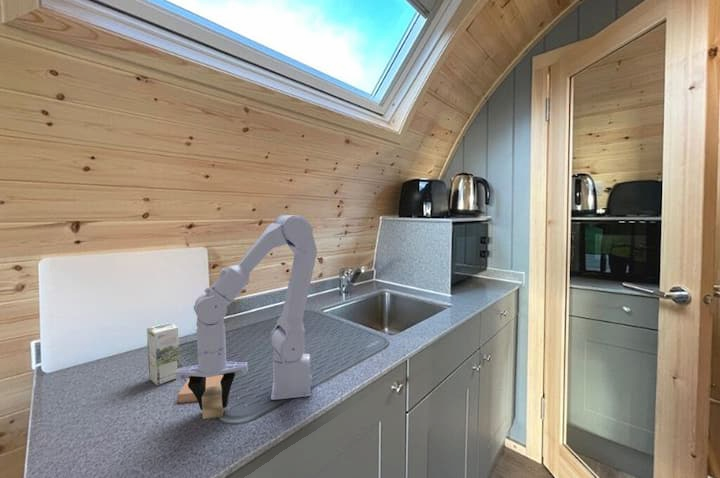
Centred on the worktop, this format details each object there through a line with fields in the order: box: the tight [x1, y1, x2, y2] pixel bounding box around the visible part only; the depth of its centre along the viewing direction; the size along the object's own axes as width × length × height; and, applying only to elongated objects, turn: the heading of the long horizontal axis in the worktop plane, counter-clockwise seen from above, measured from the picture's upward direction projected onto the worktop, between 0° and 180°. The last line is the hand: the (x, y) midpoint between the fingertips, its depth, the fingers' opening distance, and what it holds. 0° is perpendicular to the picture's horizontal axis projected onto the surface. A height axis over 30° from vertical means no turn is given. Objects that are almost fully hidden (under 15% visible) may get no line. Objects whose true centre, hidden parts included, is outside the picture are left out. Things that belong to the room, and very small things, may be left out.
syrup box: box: [146, 322, 181, 387], centre depth 87 cm, size 6×6×14 cm
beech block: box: [201, 386, 227, 420], centre depth 73 cm, size 4×4×5 cm
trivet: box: [177, 375, 223, 404], centre depth 82 cm, size 9×9×2 cm
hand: (214, 406), depth 73 cm, fingers closed on beech block, 4 cm apart
